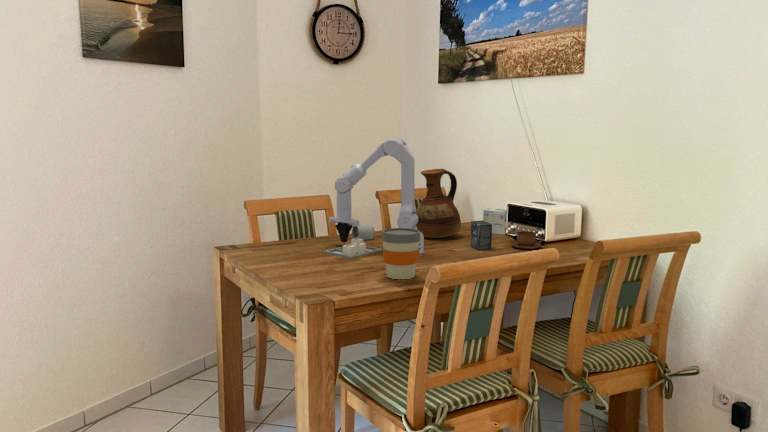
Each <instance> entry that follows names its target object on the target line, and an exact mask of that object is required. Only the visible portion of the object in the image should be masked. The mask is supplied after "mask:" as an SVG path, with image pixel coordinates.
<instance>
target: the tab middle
mask: <svg viewBox="0 0 768 432" xmlns="http://www.w3.org/2000/svg"><path fill="white" fill-rule="evenodd" d="M353 245H354V246H356V252H358V253H365V252H366V246H367V243H365V242H364V243H362V241H360V242H356V243H353Z"/></svg>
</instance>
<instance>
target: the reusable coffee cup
mask: <svg viewBox="0 0 768 432" xmlns="http://www.w3.org/2000/svg"><path fill="white" fill-rule="evenodd" d="M381 241H382V245H383V247H382V250H383V251H382V259H383V263H385V271H386V277H389V278H393V279H408V278H412V277H414V278H415V275H416V267H417V264H418V262H419V255H420V253H419V250H420V249H419V241H420V231H419V230H416V229H410V228H399V227H394V228H393V227H392V228H386V229H383V230H382V234H381ZM389 278H388V279H389ZM393 279H392V280H393Z"/></svg>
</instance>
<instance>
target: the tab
mask: <svg viewBox="0 0 768 432" xmlns="http://www.w3.org/2000/svg"><path fill="white" fill-rule="evenodd" d="M342 247H343V254H345V255H350V256H352V255H356V246H354V245H352V244H351V242H350V243H347V244H344V245H342Z"/></svg>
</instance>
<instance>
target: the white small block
mask: <svg viewBox="0 0 768 432" xmlns="http://www.w3.org/2000/svg"><path fill="white" fill-rule="evenodd" d="M360 241H362V243H365V242H364V241H365V240H364V239H360V237H357V238H354V239H353V238H351V239H350V243H351V244H352V245H353V243H356V242H360Z"/></svg>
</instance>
